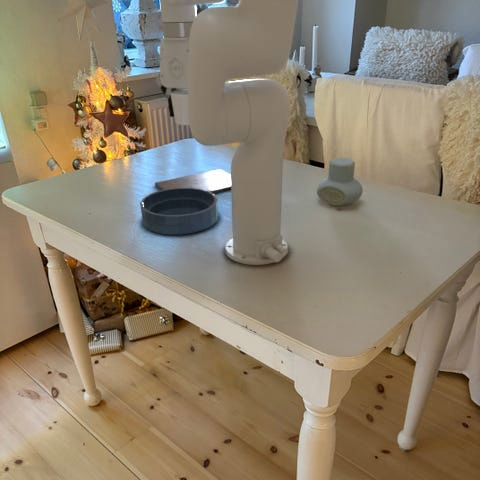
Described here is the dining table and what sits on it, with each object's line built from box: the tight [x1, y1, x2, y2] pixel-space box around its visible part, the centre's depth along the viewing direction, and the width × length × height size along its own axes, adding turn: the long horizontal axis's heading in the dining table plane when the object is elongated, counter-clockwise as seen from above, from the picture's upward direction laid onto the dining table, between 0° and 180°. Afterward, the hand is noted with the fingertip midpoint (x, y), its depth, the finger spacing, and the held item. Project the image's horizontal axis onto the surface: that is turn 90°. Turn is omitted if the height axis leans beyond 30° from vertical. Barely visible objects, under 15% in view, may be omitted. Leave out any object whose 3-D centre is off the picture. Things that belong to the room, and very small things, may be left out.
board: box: [154, 168, 231, 195], centre depth 131 cm, size 14×20×1 cm
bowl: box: [139, 188, 219, 235], centre depth 112 cm, size 17×17×4 cm
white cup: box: [170, 89, 190, 126], centre depth 117 cm, size 7×7×7 cm
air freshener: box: [316, 157, 364, 208], centre depth 117 cm, size 11×8×10 cm
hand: (186, 116), depth 118 cm, fingers closed on white cup, 6 cm apart
